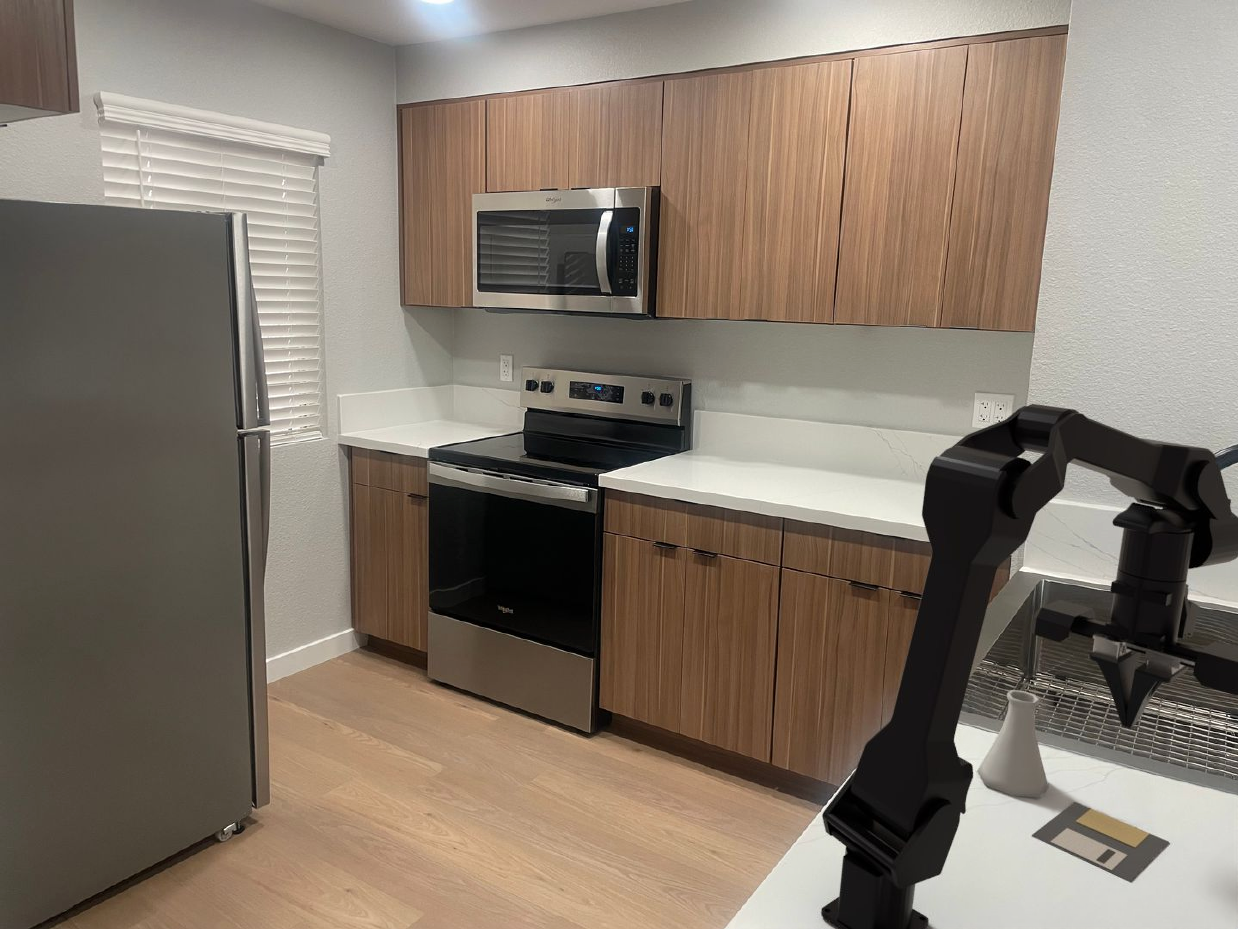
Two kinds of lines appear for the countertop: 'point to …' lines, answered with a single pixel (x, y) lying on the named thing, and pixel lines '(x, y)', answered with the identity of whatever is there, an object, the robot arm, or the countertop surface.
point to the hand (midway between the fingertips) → (1128, 726)
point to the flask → (1016, 751)
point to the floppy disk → (1101, 840)
